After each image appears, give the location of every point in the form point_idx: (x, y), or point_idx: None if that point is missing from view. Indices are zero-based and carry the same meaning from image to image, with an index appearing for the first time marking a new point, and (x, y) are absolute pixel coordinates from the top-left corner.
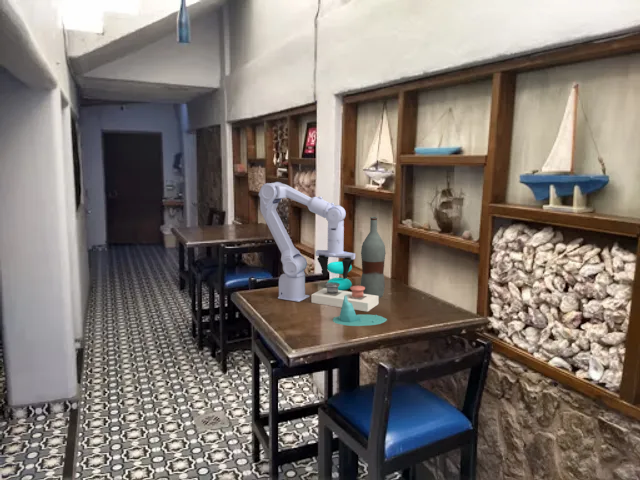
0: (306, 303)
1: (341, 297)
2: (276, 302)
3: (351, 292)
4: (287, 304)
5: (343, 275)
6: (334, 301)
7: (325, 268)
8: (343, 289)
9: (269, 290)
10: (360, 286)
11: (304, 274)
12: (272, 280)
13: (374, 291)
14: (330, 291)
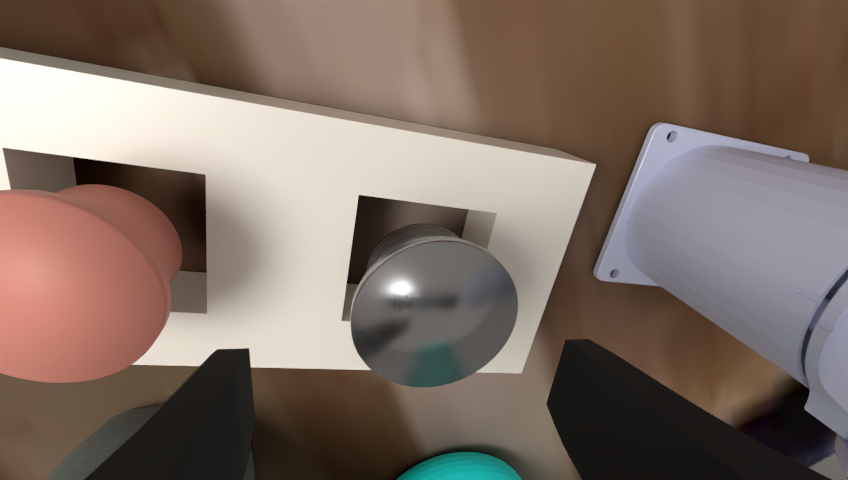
0: (591, 115)
1: (281, 168)
2: (810, 65)
3: (257, 352)
4: (732, 37)
5: (218, 380)
6: (345, 116)
7: (646, 470)
8: (407, 471)
9: None
10: (38, 356)
11: (825, 334)
12: (804, 448)
13: (77, 460)
14: (429, 232)
